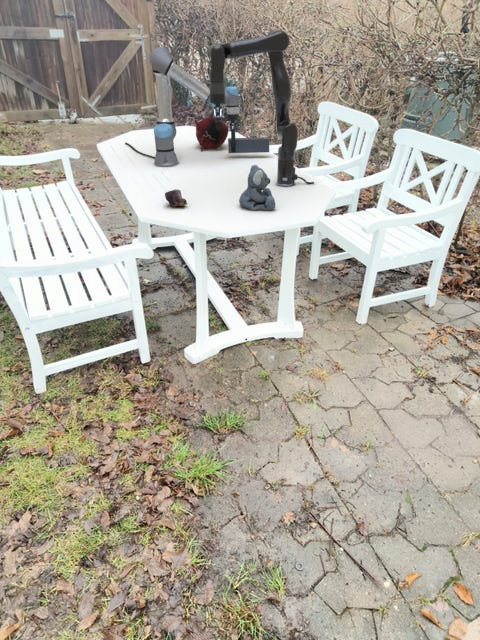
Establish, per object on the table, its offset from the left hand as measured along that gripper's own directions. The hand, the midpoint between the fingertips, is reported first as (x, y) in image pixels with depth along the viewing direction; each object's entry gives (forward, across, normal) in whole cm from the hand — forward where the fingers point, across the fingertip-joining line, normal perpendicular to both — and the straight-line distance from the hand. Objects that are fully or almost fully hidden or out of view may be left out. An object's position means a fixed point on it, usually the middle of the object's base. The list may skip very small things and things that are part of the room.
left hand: (233, 150), depth 303 cm
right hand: (-29, -71, +5) cm, 77 cm away
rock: (+4, -92, +28) cm, 96 cm away
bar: (+1, 0, -10) cm, 10 cm away
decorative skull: (+4, +28, +16) cm, 33 cm away
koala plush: (+4, -93, -14) cm, 94 cm away
